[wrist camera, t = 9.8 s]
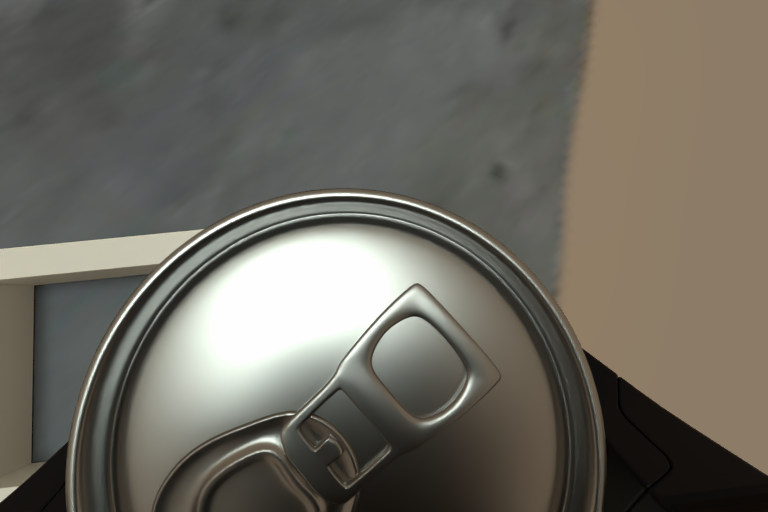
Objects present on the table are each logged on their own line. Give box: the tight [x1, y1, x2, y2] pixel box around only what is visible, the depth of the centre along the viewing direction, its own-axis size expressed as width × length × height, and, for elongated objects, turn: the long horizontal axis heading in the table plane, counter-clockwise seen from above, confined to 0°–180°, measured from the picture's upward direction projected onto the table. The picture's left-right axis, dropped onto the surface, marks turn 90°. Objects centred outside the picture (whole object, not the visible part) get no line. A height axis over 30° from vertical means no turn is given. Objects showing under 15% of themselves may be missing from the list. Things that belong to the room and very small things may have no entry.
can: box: [65, 188, 607, 512], centre depth 10 cm, size 6×6×12 cm
